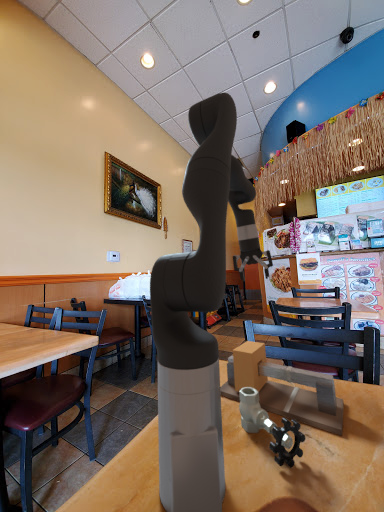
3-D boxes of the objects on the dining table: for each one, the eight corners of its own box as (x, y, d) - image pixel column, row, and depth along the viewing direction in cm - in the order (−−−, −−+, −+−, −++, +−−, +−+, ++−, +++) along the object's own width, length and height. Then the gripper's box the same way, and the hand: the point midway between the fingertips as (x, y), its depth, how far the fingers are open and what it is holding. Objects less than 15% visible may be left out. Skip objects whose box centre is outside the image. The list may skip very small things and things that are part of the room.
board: (217, 393, 53) (217, 389, 53) (237, 376, 62) (237, 372, 63) (341, 435, 37) (341, 429, 38) (343, 403, 47) (343, 398, 47)
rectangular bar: (227, 384, 56) (226, 358, 57) (234, 378, 59) (233, 354, 60) (335, 416, 41) (331, 380, 42) (336, 406, 44) (333, 373, 45)
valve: (231, 425, 41) (275, 476, 30) (229, 390, 42) (271, 426, 31) (257, 416, 44) (307, 460, 33) (255, 383, 45) (303, 415, 34)
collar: (235, 390, 51) (232, 350, 53) (250, 375, 59) (247, 340, 60) (254, 396, 48) (251, 353, 50) (267, 380, 56) (264, 343, 57)
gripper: (227, 241, 77) (235, 283, 78) (268, 234, 72) (275, 279, 73) (231, 240, 84) (237, 279, 85) (267, 234, 79) (274, 275, 80)
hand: (255, 279), depth 79 cm, fingers open, 8 cm apart
